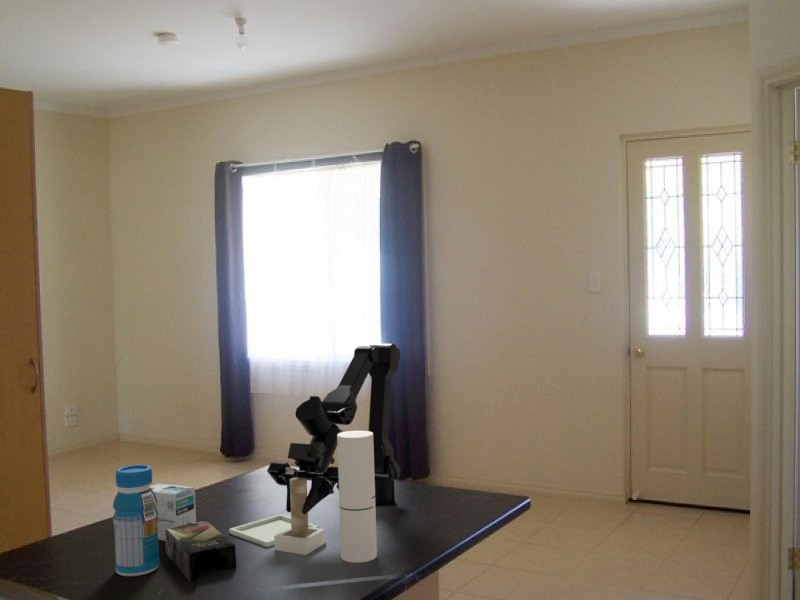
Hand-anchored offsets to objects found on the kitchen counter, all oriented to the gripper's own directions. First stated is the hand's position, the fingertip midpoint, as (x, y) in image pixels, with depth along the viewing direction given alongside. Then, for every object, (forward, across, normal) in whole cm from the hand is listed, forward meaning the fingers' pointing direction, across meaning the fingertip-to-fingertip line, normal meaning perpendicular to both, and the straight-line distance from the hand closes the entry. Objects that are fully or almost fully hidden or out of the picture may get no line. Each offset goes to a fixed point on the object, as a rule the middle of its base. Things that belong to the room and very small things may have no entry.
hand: (295, 512), depth 162 cm
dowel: (+4, 0, +6) cm, 8 cm away
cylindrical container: (+5, +14, +6) cm, 16 cm away
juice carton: (+15, -15, -2) cm, 21 cm away
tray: (+1, -11, +11) cm, 15 cm away
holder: (+5, 0, +7) cm, 8 cm away
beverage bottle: (+20, -24, -8) cm, 32 cm away
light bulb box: (+7, -33, +5) cm, 34 cm away
